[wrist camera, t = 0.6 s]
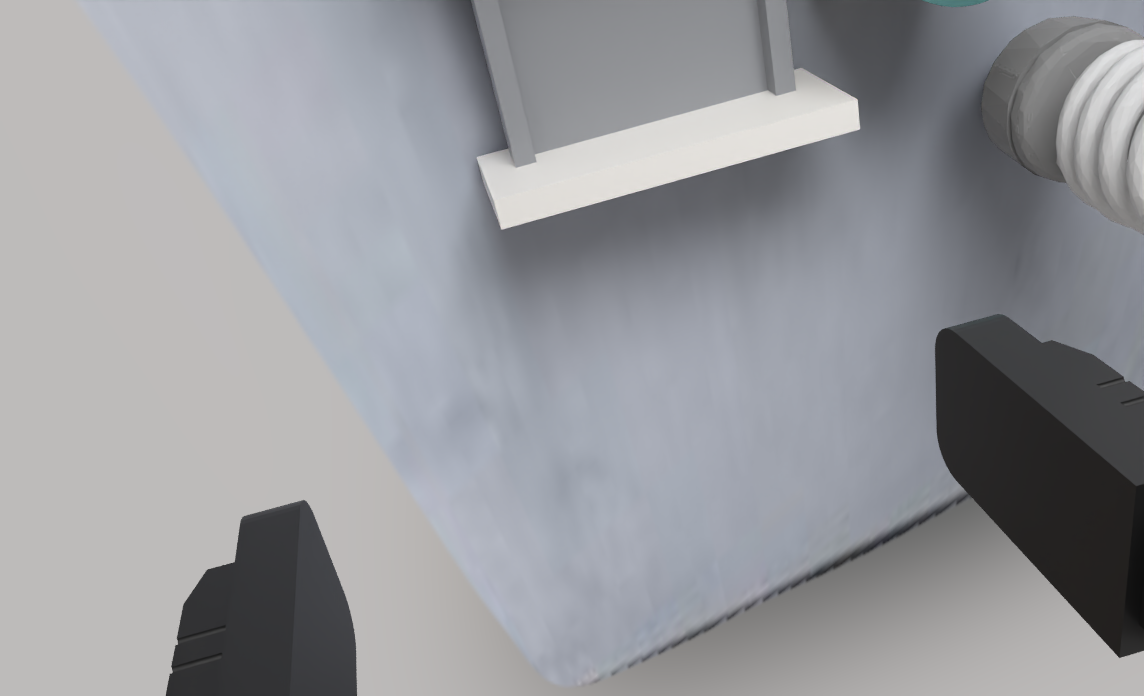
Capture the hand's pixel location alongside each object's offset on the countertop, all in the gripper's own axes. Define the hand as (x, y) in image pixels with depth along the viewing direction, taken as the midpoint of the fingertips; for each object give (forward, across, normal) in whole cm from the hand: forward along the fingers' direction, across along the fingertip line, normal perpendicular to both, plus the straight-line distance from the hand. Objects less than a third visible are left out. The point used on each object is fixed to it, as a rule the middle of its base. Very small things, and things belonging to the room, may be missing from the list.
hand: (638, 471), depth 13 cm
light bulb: (+25, -20, +5) cm, 33 cm away
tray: (+25, -6, -2) cm, 26 cm away
